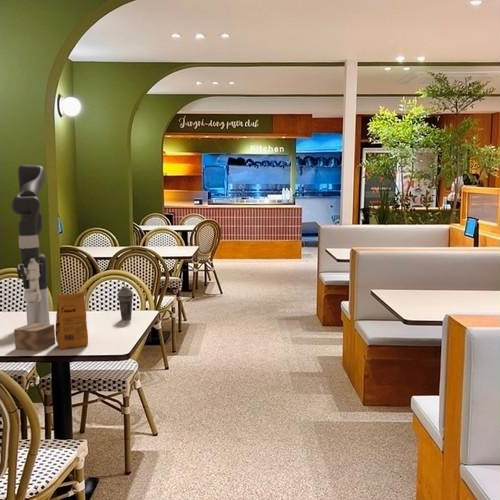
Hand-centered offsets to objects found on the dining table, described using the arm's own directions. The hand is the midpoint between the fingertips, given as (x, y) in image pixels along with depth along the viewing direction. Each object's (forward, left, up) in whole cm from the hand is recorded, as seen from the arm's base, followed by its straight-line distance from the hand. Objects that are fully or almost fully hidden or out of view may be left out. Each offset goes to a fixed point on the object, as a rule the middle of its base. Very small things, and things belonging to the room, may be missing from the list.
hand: (31, 287), depth 244 cm
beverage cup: (+12, +51, -25) cm, 58 cm away
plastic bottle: (0, 0, -7) cm, 7 cm away
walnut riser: (0, 0, -25) cm, 25 cm away
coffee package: (+14, +5, -25) cm, 29 cm away
